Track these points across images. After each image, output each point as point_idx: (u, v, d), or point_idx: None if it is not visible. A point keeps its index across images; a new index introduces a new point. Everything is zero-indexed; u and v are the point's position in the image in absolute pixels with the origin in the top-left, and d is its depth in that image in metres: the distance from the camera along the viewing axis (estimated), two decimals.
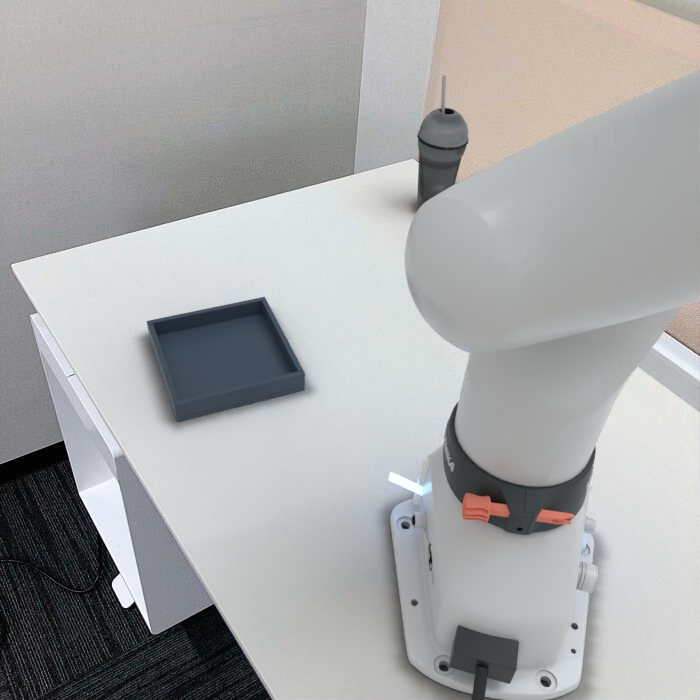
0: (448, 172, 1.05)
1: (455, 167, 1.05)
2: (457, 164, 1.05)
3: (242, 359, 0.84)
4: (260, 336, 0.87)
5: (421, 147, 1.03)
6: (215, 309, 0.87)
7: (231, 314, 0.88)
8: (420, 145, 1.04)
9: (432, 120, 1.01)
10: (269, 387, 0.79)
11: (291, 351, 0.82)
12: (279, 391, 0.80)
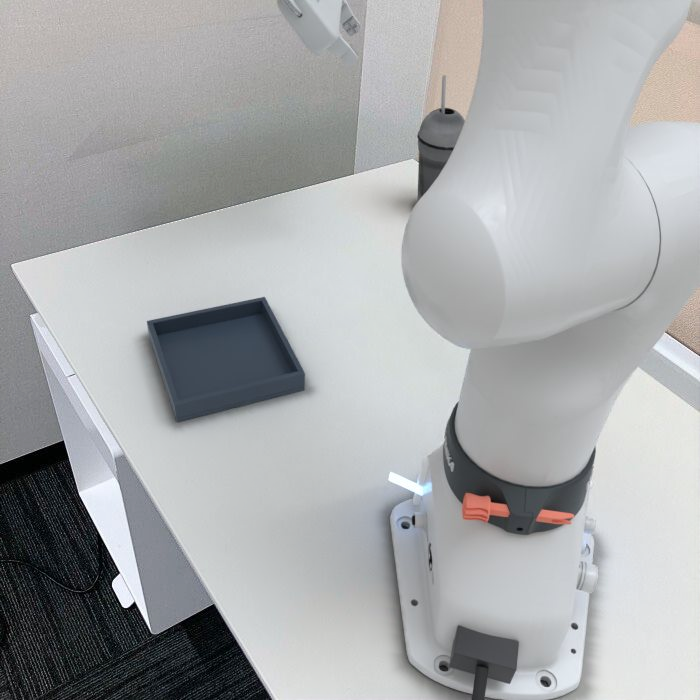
0: None
1: None
2: None
3: (242, 359, 0.84)
4: (260, 336, 0.87)
5: (421, 147, 1.03)
6: (215, 309, 0.87)
7: (231, 314, 0.88)
8: (420, 145, 1.04)
9: (432, 120, 1.01)
10: (269, 387, 0.79)
11: (291, 351, 0.82)
12: (279, 391, 0.80)
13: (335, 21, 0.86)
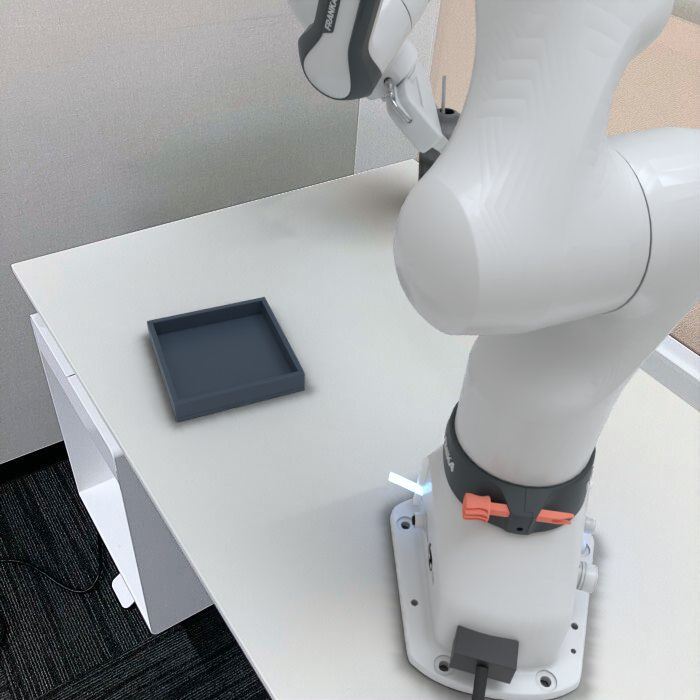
0: None
1: None
2: None
3: (242, 359, 0.84)
4: (260, 336, 0.87)
5: None
6: (215, 309, 0.87)
7: (231, 314, 0.88)
8: None
9: None
10: (269, 387, 0.79)
11: (291, 351, 0.82)
12: (279, 391, 0.80)
13: (437, 122, 0.96)
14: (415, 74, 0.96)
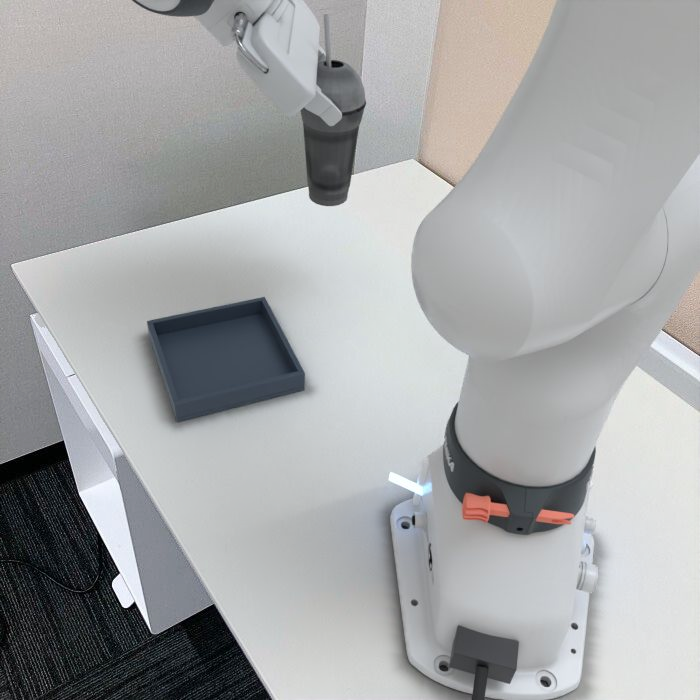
0: (340, 146, 0.79)
1: (350, 140, 0.79)
2: (352, 136, 0.79)
3: (242, 359, 0.84)
4: (260, 336, 0.87)
5: (302, 113, 0.78)
6: (215, 309, 0.87)
7: (231, 314, 0.88)
8: (301, 110, 0.78)
9: None
10: (269, 387, 0.79)
11: (291, 351, 0.82)
12: (279, 391, 0.80)
13: (311, 74, 0.70)
14: (282, 10, 0.71)
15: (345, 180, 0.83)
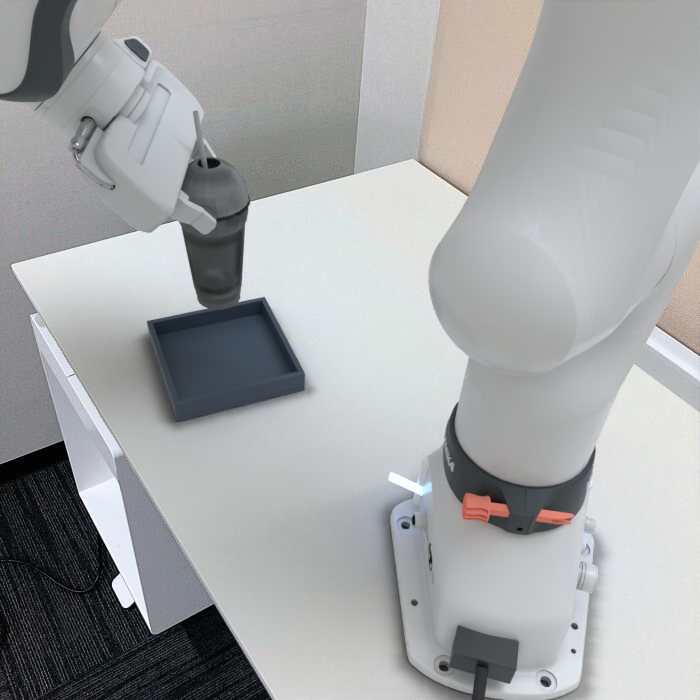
0: (221, 251, 0.71)
1: (233, 243, 0.71)
2: (235, 239, 0.71)
3: (242, 359, 0.84)
4: (260, 336, 0.87)
5: None
6: None
7: (231, 314, 0.88)
8: None
9: (185, 178, 0.67)
10: (269, 387, 0.79)
11: (291, 351, 0.82)
12: (279, 391, 0.80)
13: (172, 185, 0.62)
14: (140, 110, 0.62)
15: (233, 283, 0.74)
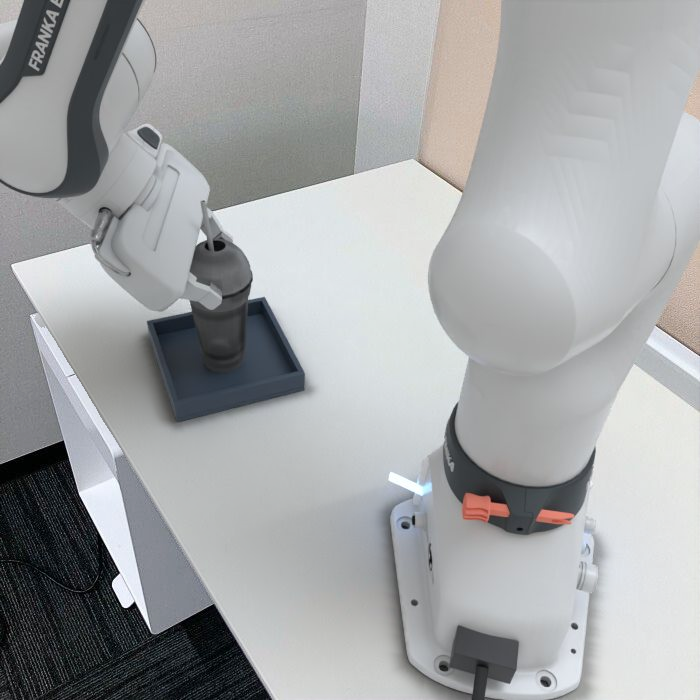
0: (226, 323, 0.77)
1: (237, 316, 0.77)
2: (239, 312, 0.77)
3: None
4: (260, 336, 0.87)
5: None
6: None
7: None
8: None
9: (193, 259, 0.73)
10: (269, 387, 0.79)
11: (291, 351, 0.82)
12: (279, 391, 0.80)
13: (182, 267, 0.67)
14: (153, 198, 0.68)
15: (237, 349, 0.80)
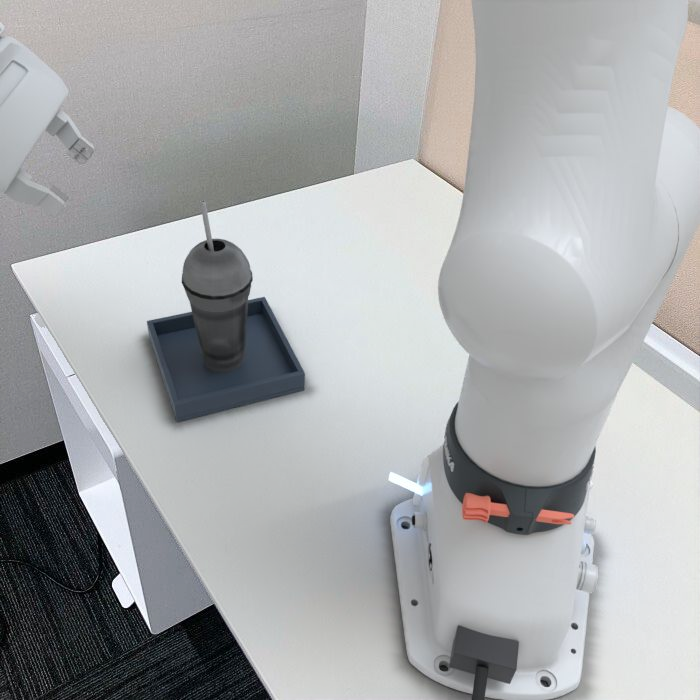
0: (226, 323, 0.77)
1: (237, 316, 0.77)
2: (239, 312, 0.77)
3: None
4: (260, 336, 0.87)
5: (186, 291, 0.75)
6: None
7: None
8: (185, 289, 0.76)
9: (193, 259, 0.73)
10: (269, 387, 0.79)
11: (291, 351, 0.82)
12: (279, 391, 0.80)
13: (9, 161, 0.60)
14: None
15: (237, 349, 0.80)
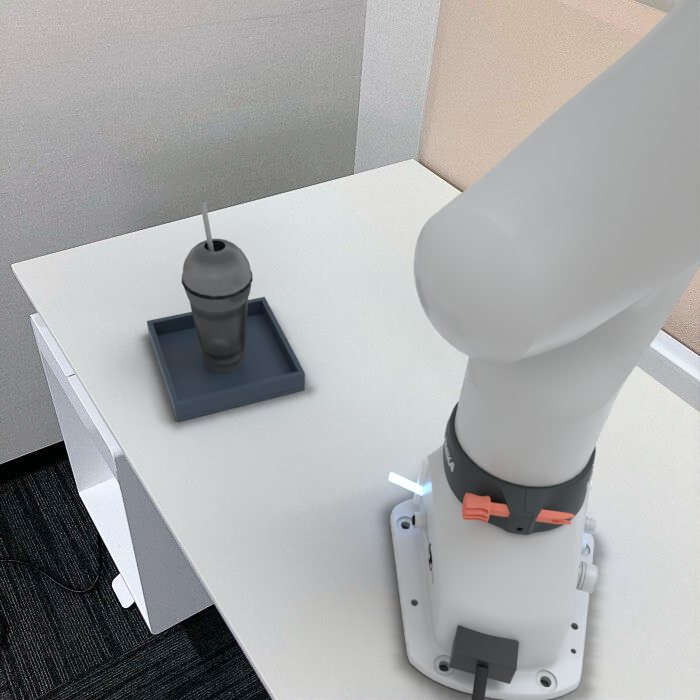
0: (226, 323, 0.77)
1: (237, 316, 0.77)
2: (239, 312, 0.77)
3: None
4: (260, 336, 0.87)
5: (186, 291, 0.75)
6: None
7: None
8: (185, 289, 0.76)
9: (193, 259, 0.73)
10: (269, 387, 0.79)
11: (291, 351, 0.82)
12: (279, 391, 0.80)
13: None
14: None
15: (237, 349, 0.80)
